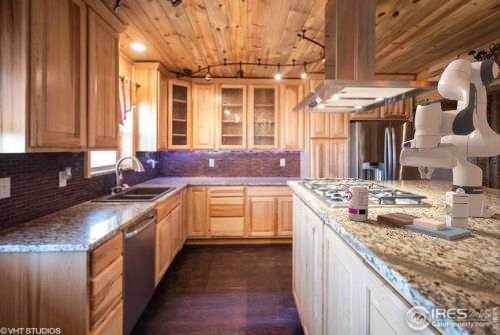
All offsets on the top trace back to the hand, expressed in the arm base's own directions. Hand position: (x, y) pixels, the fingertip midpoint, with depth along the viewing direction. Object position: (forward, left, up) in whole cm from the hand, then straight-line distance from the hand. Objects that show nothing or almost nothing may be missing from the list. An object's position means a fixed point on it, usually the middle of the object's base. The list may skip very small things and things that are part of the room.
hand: (425, 178), depth 108 cm
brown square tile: (0, -9, -20) cm, 22 cm away
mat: (0, +5, -20) cm, 21 cm away
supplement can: (+12, -22, -20) cm, 32 cm away
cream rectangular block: (0, +2, -19) cm, 19 cm away
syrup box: (-11, +6, -20) cm, 24 cm away
